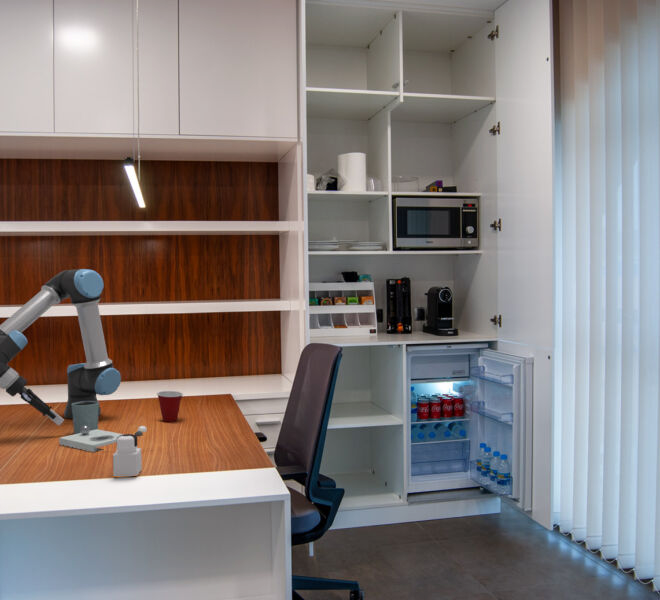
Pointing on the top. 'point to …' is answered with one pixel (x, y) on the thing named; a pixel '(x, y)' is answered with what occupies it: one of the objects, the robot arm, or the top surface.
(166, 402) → the plastic cup
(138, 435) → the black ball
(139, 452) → the medicine bottle
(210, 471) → the top surface
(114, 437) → the board
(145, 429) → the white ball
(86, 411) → the grey cup
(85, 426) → the steel ball
